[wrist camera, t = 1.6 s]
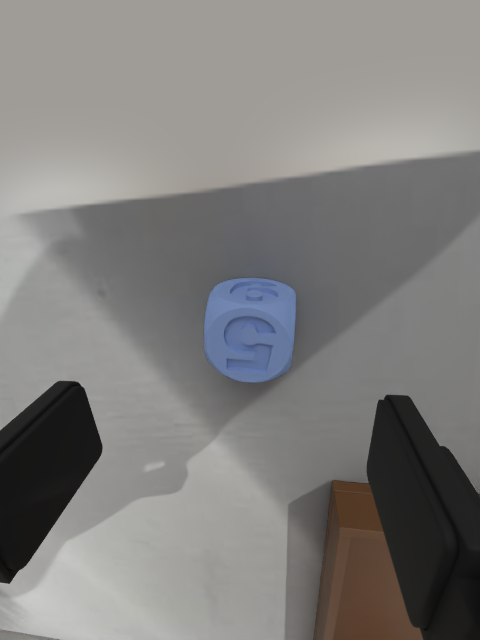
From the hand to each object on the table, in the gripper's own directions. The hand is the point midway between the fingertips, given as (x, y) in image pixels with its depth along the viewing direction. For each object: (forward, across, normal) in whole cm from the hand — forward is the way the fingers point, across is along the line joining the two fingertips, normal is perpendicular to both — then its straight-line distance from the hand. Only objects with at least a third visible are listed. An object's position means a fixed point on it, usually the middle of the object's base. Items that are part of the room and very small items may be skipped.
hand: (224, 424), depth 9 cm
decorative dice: (+8, 0, 0) cm, 9 cm away
